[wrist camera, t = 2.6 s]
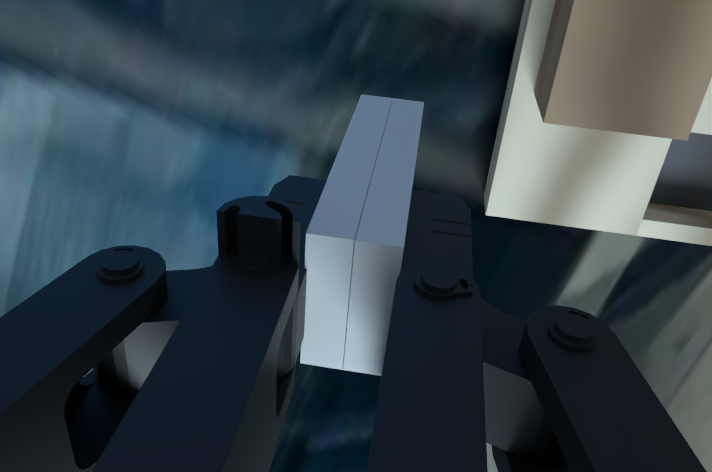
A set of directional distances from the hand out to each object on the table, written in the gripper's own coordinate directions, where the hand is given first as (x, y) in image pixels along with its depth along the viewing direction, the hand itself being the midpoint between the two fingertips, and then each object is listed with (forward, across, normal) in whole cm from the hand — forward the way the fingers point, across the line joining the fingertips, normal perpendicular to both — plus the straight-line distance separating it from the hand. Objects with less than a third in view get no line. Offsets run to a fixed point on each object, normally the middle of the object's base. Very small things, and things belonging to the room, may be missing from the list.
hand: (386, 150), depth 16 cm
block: (+16, +9, 0) cm, 18 cm away
